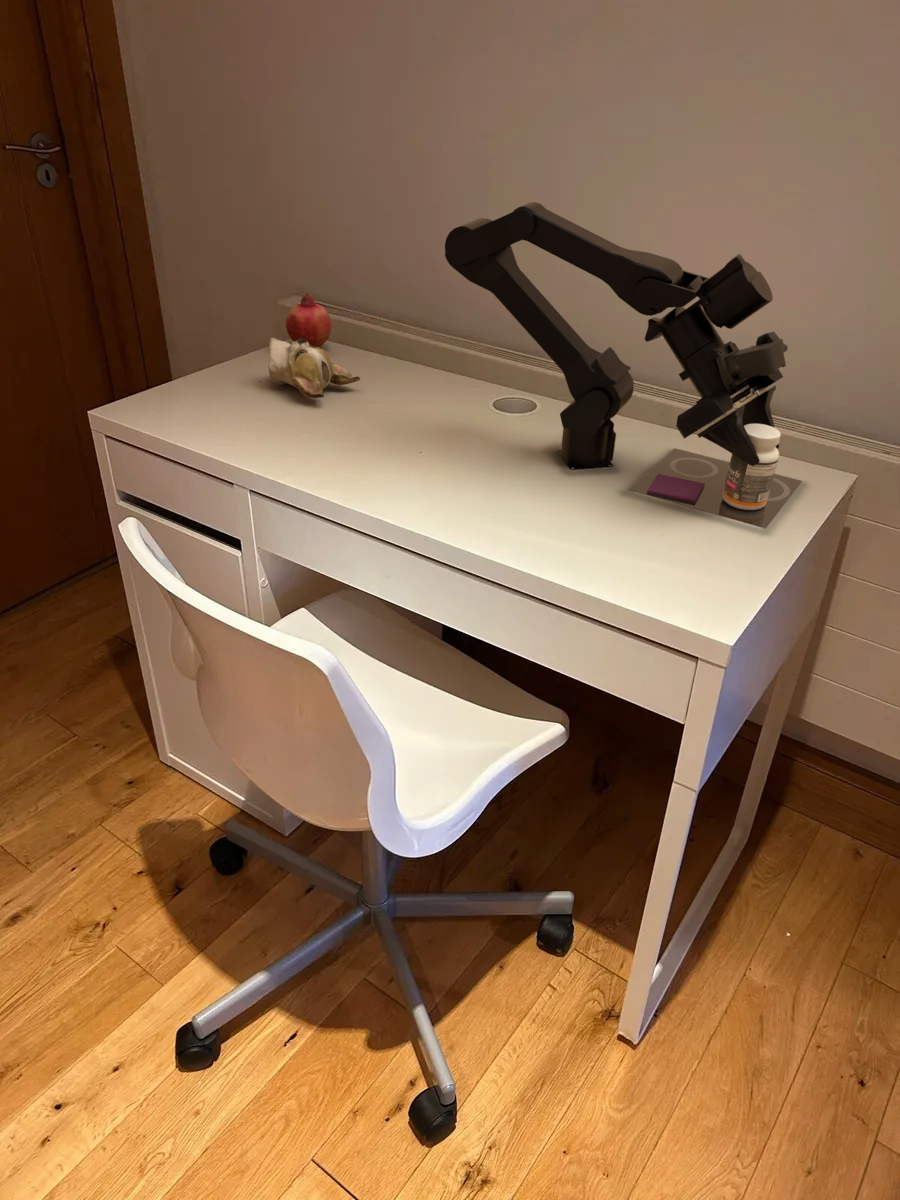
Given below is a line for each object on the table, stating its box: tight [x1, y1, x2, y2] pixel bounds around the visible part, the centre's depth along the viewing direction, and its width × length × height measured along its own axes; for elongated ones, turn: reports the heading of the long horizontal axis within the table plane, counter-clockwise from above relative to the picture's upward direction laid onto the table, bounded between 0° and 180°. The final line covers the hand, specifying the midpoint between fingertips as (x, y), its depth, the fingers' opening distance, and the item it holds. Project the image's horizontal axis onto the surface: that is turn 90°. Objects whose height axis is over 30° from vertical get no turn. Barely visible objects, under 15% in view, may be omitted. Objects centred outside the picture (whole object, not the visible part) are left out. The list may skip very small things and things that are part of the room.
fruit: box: [285, 292, 332, 348], centre depth 167 cm, size 8×8×10 cm
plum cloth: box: [647, 474, 705, 503], centre depth 124 cm, size 6×6×1 cm
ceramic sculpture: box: [267, 337, 361, 399], centre depth 151 cm, size 11×9×15 cm
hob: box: [628, 447, 803, 529], centre depth 126 cm, size 16×18×1 cm
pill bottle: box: [722, 424, 781, 510], centre depth 119 cm, size 6×6×10 cm
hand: (766, 456), depth 117 cm, fingers closed on pill bottle, 6 cm apart
